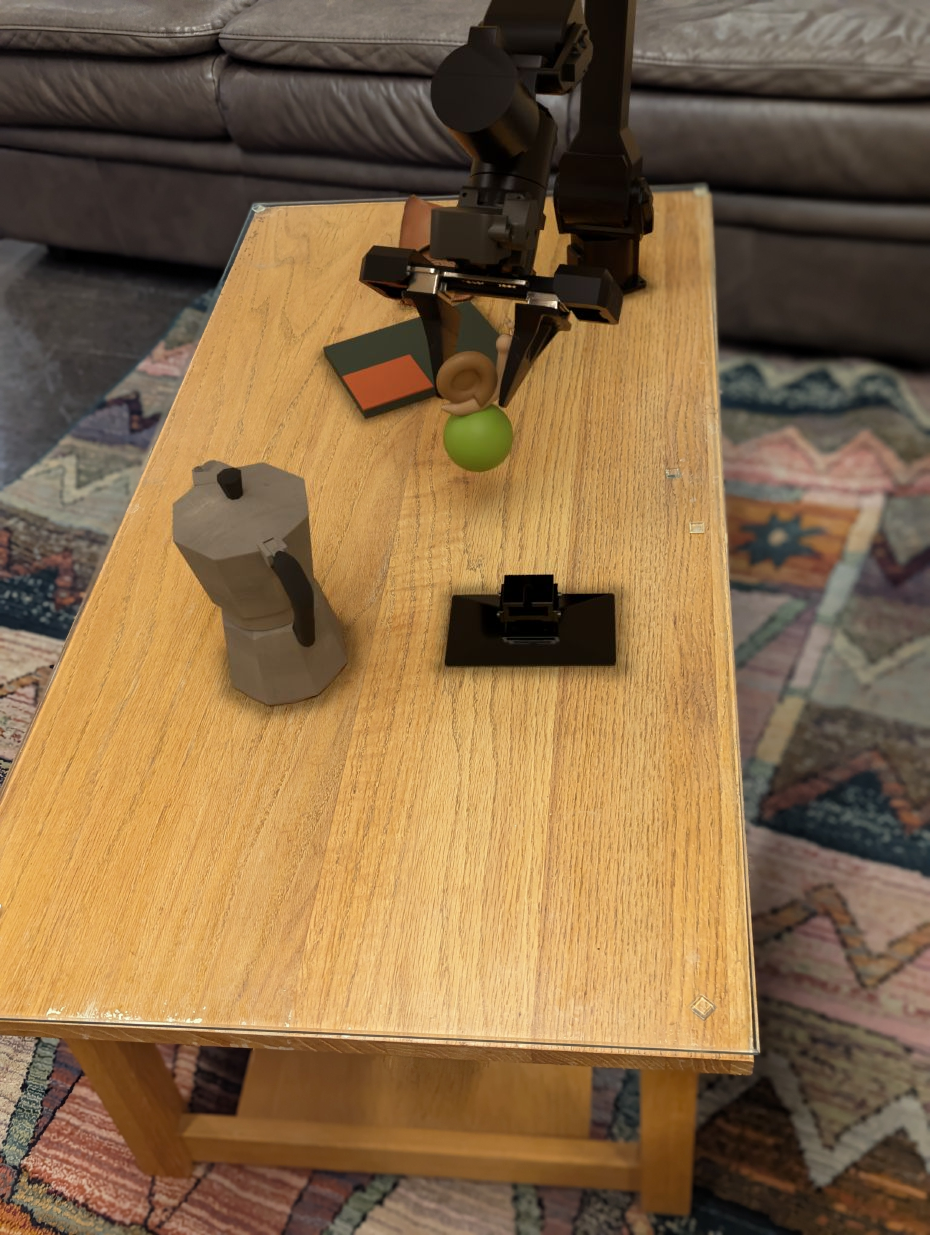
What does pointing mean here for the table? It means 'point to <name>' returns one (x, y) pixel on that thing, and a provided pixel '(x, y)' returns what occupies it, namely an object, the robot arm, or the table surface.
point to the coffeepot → (261, 578)
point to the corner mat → (401, 361)
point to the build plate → (531, 627)
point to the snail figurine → (476, 408)
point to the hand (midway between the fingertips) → (470, 402)
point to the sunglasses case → (421, 233)
